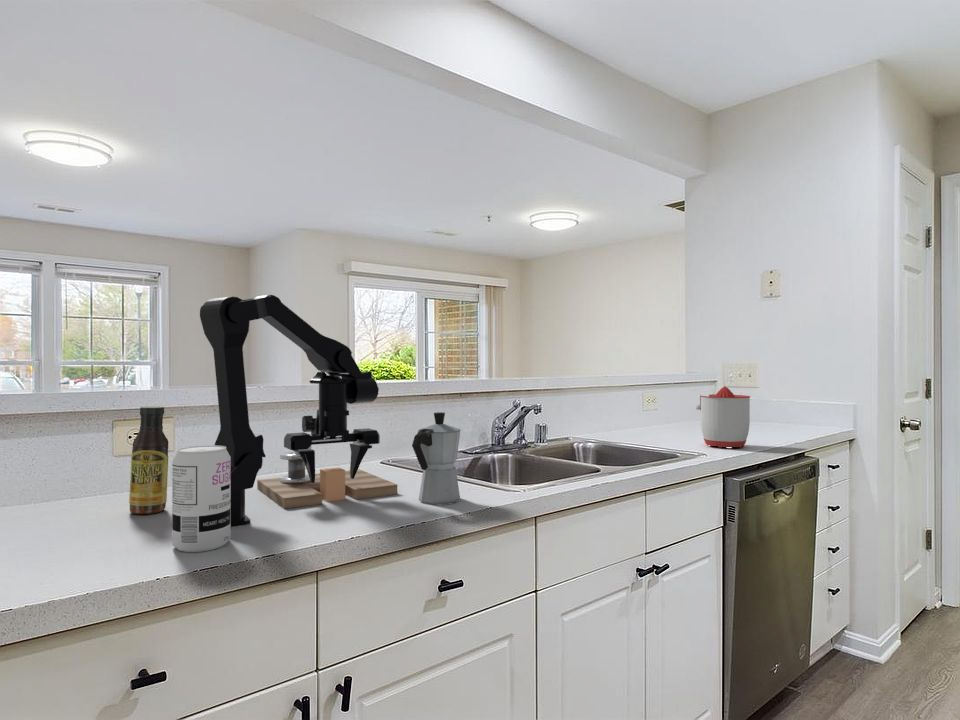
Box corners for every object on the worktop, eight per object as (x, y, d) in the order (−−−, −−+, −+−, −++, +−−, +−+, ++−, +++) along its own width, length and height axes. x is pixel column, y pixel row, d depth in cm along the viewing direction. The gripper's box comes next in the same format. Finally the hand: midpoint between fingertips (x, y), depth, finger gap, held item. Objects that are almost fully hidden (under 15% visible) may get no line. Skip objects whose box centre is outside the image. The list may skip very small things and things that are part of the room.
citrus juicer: (710, 441, 215) (710, 384, 215) (759, 447, 202) (759, 386, 202) (685, 445, 205) (685, 386, 205) (735, 451, 192) (735, 387, 192)
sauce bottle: (124, 516, 112) (125, 408, 112) (134, 508, 118) (134, 405, 118) (164, 514, 113) (164, 407, 113) (171, 506, 119) (171, 405, 119)
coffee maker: (439, 491, 133) (439, 409, 133) (473, 496, 129) (473, 410, 129) (396, 505, 120) (396, 414, 120) (432, 511, 116) (432, 416, 116)
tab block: (338, 495, 130) (338, 467, 130) (345, 499, 126) (345, 470, 126) (319, 497, 127) (319, 469, 127) (326, 501, 124) (326, 472, 124)
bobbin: (317, 481, 134) (317, 454, 134) (285, 485, 130) (285, 457, 130) (307, 476, 140) (307, 450, 140) (276, 480, 136) (276, 453, 136)
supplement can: (175, 540, 97) (175, 446, 97) (231, 535, 100) (231, 443, 100) (168, 556, 90) (168, 453, 90) (229, 550, 92) (229, 450, 92)
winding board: (397, 493, 131) (397, 484, 131) (283, 508, 118) (283, 498, 118) (359, 477, 149) (359, 469, 149) (257, 488, 136) (257, 479, 136)
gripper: (360, 401, 139) (360, 470, 139) (276, 404, 128) (276, 478, 128) (380, 404, 129) (380, 478, 129) (291, 408, 119) (291, 488, 119)
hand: (332, 480), depth 127 cm, fingers open, 8 cm apart
